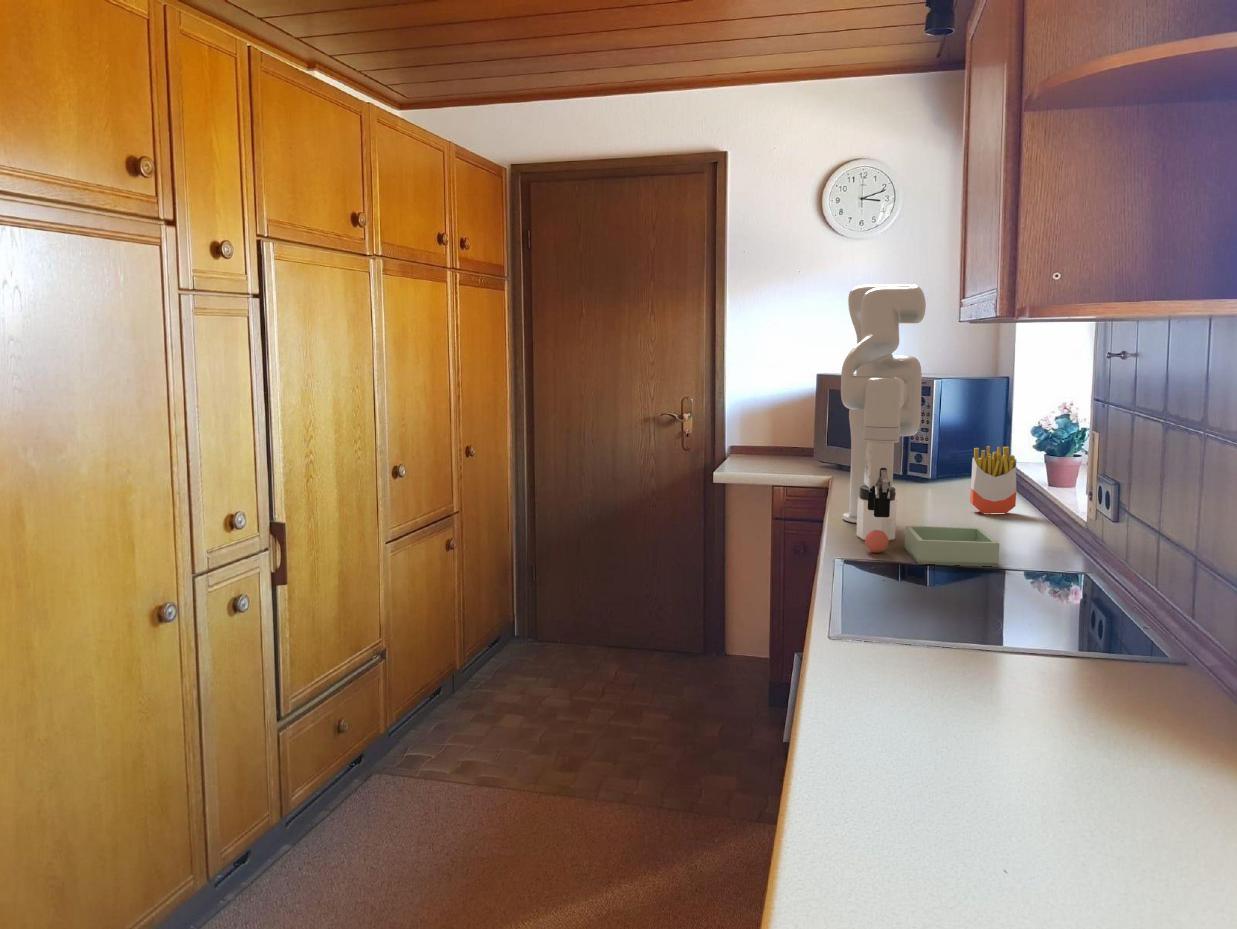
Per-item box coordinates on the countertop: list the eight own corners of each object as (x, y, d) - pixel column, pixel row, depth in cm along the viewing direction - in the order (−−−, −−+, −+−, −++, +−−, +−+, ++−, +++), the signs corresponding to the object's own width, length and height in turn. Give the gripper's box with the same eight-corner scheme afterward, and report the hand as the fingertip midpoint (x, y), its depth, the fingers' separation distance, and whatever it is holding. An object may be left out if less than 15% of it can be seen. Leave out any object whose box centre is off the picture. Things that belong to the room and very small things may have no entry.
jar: (876, 543, 214) (878, 491, 212) (849, 536, 221) (851, 486, 219) (902, 538, 219) (904, 488, 217) (875, 532, 226) (877, 483, 224)
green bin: (904, 547, 209) (905, 525, 209) (978, 549, 207) (979, 527, 207) (917, 564, 194) (918, 540, 193) (997, 567, 192) (999, 543, 191)
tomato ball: (863, 549, 207) (864, 527, 206) (886, 550, 206) (887, 528, 206) (866, 554, 202) (867, 532, 202) (889, 555, 202) (890, 532, 201)
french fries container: (1015, 515, 249) (1019, 448, 247) (972, 513, 251) (976, 447, 249) (1011, 512, 254) (1015, 446, 251) (969, 510, 256) (973, 445, 253)
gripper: (858, 432, 210) (855, 507, 212) (868, 437, 193) (865, 519, 194) (892, 432, 209) (889, 508, 211) (906, 438, 192) (902, 520, 193)
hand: (878, 513), depth 202 cm, fingers open, 9 cm apart
